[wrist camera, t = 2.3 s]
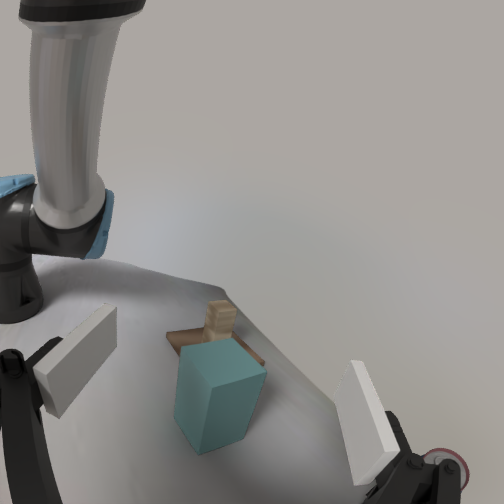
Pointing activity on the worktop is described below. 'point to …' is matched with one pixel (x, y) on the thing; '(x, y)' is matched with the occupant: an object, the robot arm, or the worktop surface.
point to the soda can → (440, 453)
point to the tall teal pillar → (216, 393)
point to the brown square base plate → (212, 329)
